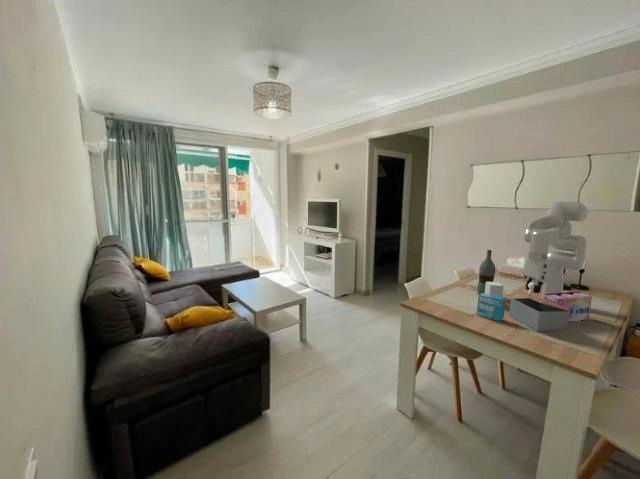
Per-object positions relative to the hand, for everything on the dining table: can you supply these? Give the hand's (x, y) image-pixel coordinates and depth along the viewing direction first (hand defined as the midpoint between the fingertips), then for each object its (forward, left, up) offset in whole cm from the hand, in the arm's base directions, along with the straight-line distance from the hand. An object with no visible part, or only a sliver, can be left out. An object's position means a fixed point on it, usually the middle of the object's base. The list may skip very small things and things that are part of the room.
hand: (532, 290), depth 144 cm
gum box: (-24, -3, -18) cm, 30 cm away
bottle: (-5, -40, -18) cm, 44 cm away
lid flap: (-4, 0, -5) cm, 7 cm away
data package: (+15, -8, -18) cm, 25 cm away
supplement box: (0, -26, -18) cm, 31 cm away
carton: (-5, 0, -17) cm, 18 cm away
